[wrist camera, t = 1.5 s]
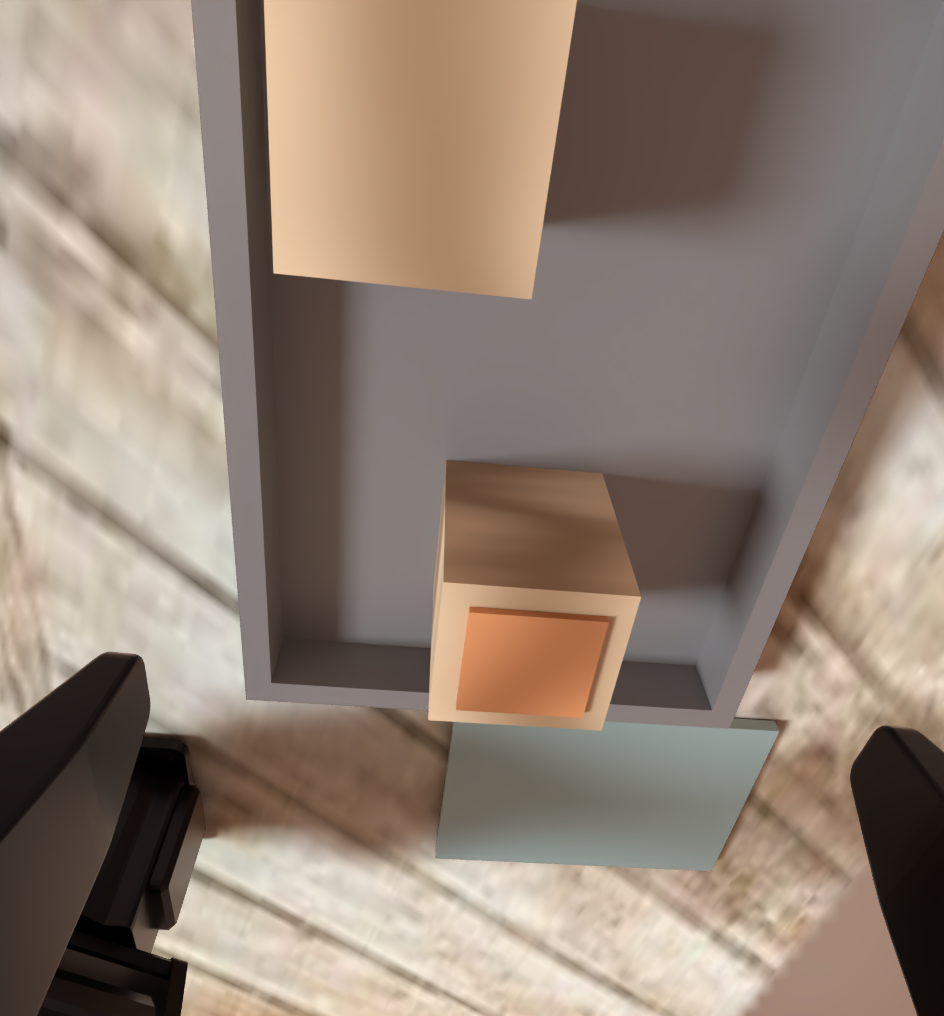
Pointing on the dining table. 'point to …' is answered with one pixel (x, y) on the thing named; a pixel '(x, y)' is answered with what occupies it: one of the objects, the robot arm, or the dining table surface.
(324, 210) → the plain block
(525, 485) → the labelled block
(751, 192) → the parts bin
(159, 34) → the dining table surface
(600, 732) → the mat
